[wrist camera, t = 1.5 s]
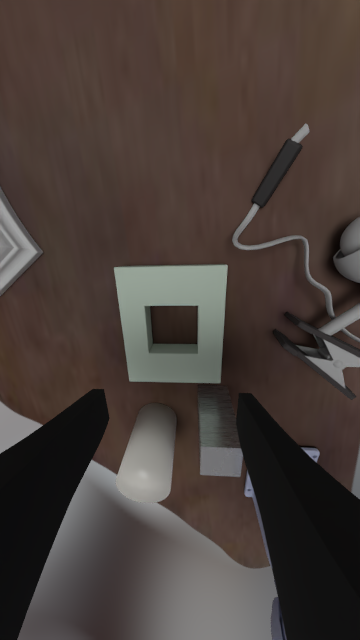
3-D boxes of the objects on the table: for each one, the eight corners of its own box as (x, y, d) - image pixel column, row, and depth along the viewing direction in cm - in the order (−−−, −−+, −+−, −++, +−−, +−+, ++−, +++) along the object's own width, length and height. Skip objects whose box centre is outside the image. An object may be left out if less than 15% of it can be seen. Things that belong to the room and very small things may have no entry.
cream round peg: (177, 433, 23) (171, 504, 16) (139, 432, 23) (119, 501, 17) (176, 403, 21) (169, 469, 15) (136, 402, 22) (112, 466, 15)
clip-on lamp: (199, 251, 19) (319, 383, 18) (183, 240, 13) (359, 434, 12) (308, 136, 14) (467, 306, 14) (359, 40, 8) (637, 329, 8)
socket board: (217, 371, 20) (220, 383, 18) (135, 369, 20) (129, 381, 18) (223, 263, 16) (227, 265, 14) (122, 266, 17) (113, 267, 15)
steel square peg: (225, 408, 21) (240, 476, 15) (197, 407, 21) (200, 474, 15) (226, 385, 20) (243, 448, 14) (197, 385, 20) (200, 446, 14)
